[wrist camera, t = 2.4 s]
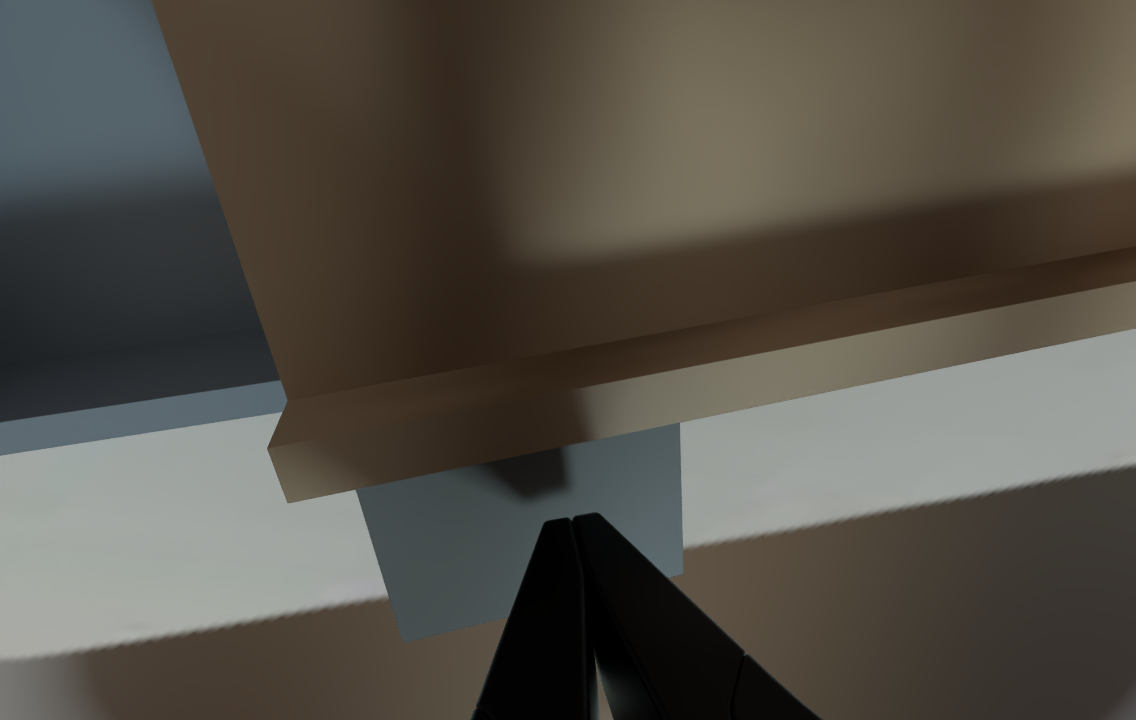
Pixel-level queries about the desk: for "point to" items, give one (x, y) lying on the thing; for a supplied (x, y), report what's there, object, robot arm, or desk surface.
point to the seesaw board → (637, 235)
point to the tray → (112, 240)
